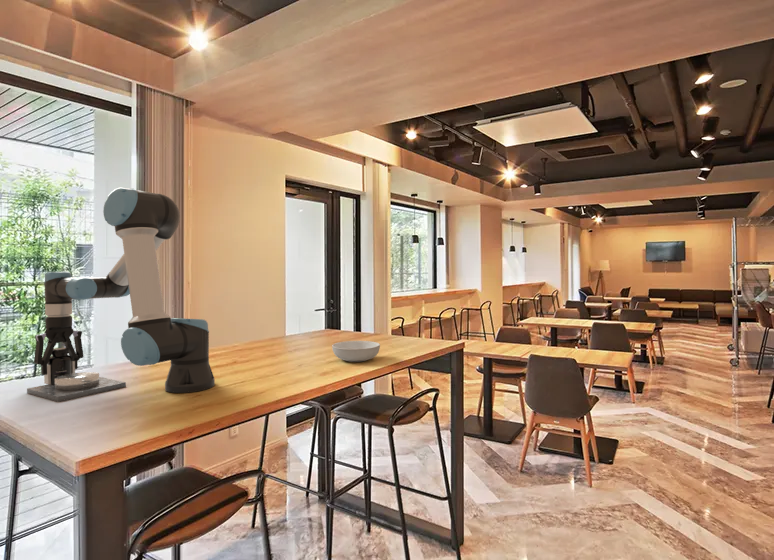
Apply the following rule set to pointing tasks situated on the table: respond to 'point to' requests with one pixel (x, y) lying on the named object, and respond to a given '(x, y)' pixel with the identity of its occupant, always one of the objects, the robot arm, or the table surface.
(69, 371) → the supplement bottle
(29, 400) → the table surface
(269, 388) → the table surface
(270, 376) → the table surface
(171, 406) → the table surface
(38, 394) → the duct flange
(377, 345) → the serving bowl
